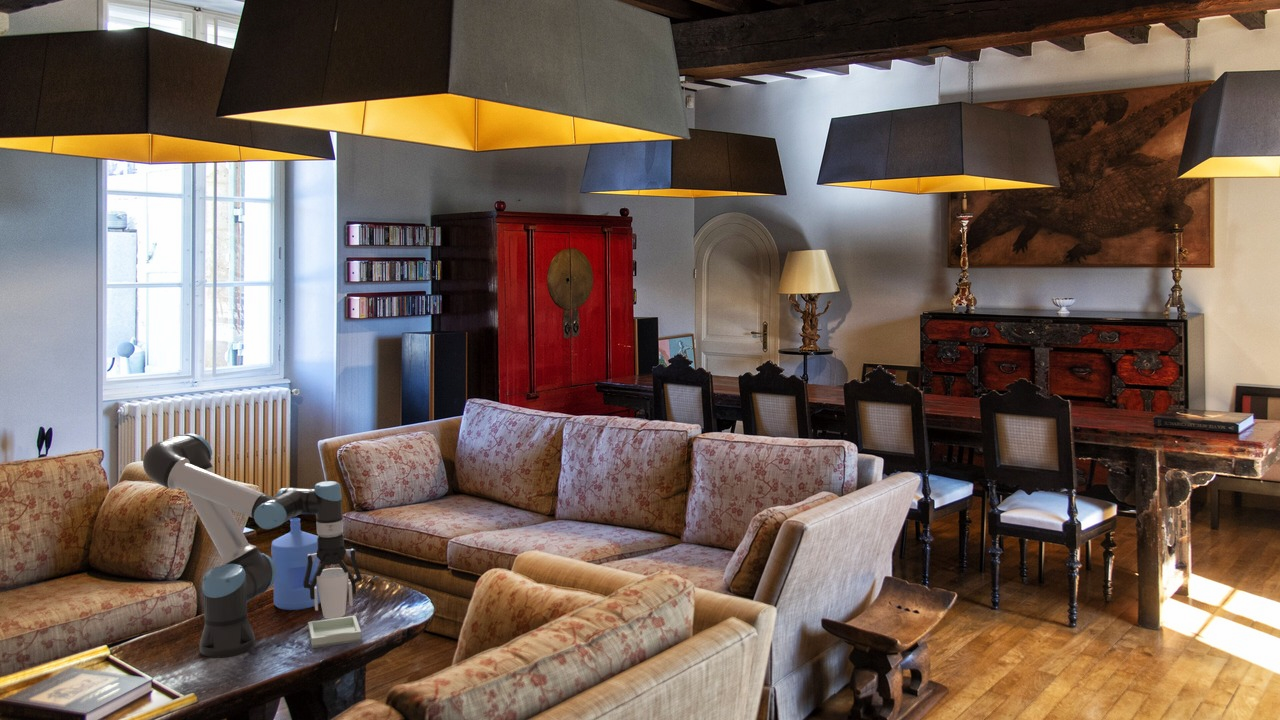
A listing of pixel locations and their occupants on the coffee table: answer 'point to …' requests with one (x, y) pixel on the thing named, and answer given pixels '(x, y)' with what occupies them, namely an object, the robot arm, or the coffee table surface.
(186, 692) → the coffee table surface
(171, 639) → the coffee table surface
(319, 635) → the tray
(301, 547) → the water jug
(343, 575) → the foam cup
